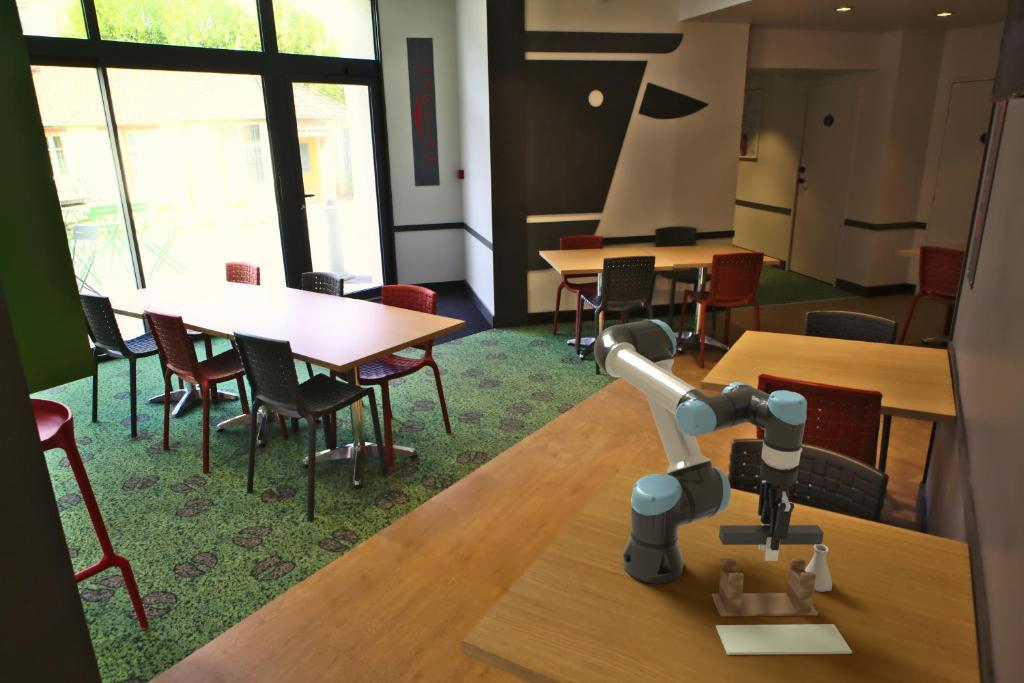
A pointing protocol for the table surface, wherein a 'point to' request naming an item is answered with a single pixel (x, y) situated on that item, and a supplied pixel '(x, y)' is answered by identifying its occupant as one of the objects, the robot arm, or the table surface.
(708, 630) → the table surface
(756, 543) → the rail
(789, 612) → the rack
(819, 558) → the flask
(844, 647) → the mat
